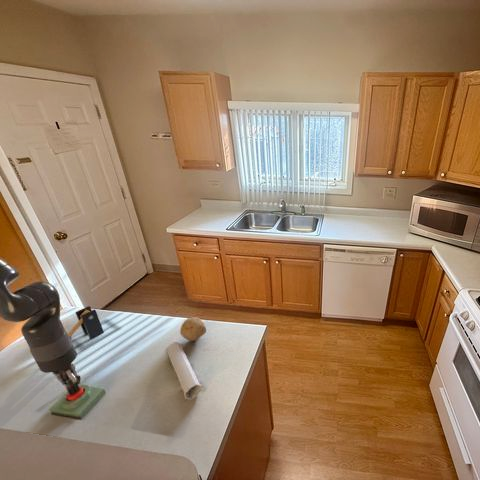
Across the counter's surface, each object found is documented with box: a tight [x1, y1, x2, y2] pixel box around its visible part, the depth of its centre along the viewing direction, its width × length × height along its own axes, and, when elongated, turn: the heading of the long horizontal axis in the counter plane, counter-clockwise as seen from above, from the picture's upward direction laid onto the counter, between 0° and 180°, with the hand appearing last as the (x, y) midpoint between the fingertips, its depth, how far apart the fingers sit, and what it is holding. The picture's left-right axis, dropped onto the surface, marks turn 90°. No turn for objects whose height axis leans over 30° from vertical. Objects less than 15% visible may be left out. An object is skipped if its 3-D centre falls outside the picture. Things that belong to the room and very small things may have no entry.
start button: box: [66, 387, 84, 401], centre depth 77 cm, size 4×4×2 cm
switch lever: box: [67, 310, 90, 341], centre depth 96 cm, size 13×3×3 cm
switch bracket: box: [75, 305, 105, 340], centre depth 100 cm, size 12×10×13 cm
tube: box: [166, 341, 203, 401], centre depth 90 cm, size 5×5×25 cm
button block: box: [48, 383, 107, 420], centre depth 78 cm, size 10×8×4 cm
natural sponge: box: [179, 316, 207, 342], centre depth 103 cm, size 9×9×10 cm
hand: (74, 392), depth 77 cm, fingers closed
